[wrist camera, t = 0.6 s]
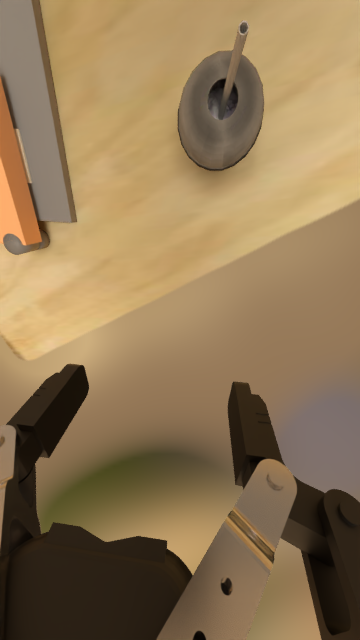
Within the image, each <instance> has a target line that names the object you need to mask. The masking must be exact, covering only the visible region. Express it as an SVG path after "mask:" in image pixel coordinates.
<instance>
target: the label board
mask: <svg viewBox="0 0 360 640" xmlns="http://www.w3.org/2000/svg"><path fill="white" fill-rule="evenodd" d="M0 77H1V81H2V85H3V89H4V93H5V97H6V101H7V105H8V109H9V113H10V116H11V120H12V124H13V128H14V132H15V136H16V140H17V144H18V148H19V152H20V156H21V160H22V164H23V168H24V172H25V176H26V180H27V184H28V187H29V191H30V195H31V199H32V203H33V207H34V211H35V215H36V219H37V220H39V221H54V222H69V223H73V222H77V220H76V214H75V208H74V203H73V197H72V191H71V185H70V179H69V173H68V167H67V161H66V156H65V150H64V144H63V138H62V132H61V126H60V120H59V115H58V109H57V103H56V97H55V91H54V85H53V79H52V74H51V68H50V62H49V56H48V50H47V44H46V38H45V32H44V27H43V21H42V15H41V9H40V3H39V0H0ZM39 231H40V235H41V239H42V242H40V245H39V248H38V249H41V248H45V247H47V246H48V245H49V242H50V241H49V237H48V235H47V234H46V233H45V232H44V231H43V230H41V229H39ZM38 249H37V250H38Z"/></svg>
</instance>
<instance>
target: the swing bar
mask: <svg viewBox="0 0 360 640" xmlns="http://www.w3.org/2000/svg"><path fill="white" fill-rule="evenodd" d="M40 242H42V239H41V235H40V231H39V227H38V223H37V219H36V215H35V211H34V207H33V203H32V199H31V195H30V191H29V187H28V184H27V180H26V176H25V172H24V168H23V164H22V160H21V156H20V152H19V148H18V144H17V140H16V136H15V132H14V128H13V124H12V120H11V116H10V113H9V109H8V105H7V101H6V97H5V93H4V89H3V85H2V81H1V77H0V243H2V244H4V245H5V247H6V249H7V250H8V251H9V252H11V253H12V254H15V255H19V254H23V253H27V252H30V251H34V250H37V249H38V248H39V245H40Z"/></svg>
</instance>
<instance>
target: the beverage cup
mask: <svg viewBox="0 0 360 640" xmlns="http://www.w3.org/2000/svg"><path fill="white" fill-rule="evenodd" d="M248 29H249V25H248V23H247V21H242V22H241V23H240V24H239V28H238V32H237V36H236V41H235V45H234V49H233V51H218V52H216V53H214V54H212V55H211V56H209V57H207V58H205V59H204V60H203V61H202V62H201V63H200V64H199V65H198V66H197V67H196V68H195V69H194V70H193V71H192V73H191V75H190V77H189V79H188V81H187V83H186V85H185V87H184V89H183V93H182V97H181V101H180V105H179V109H178V132H179V136H180V140H181V144H182V146H183V148H184V150H185V152H186V153H187V155H188V157H189V158H190V159H191V160H192V161H193V162H194V163H195V164H197V165H198V166H199V167H202V168H204V169H207V170H209V171H222V170H224V169H227V168H230V167H232V166H234V165H236V164H237V163H238V162H239V161H241V160H242V159H243V158H244V157H245V156H246V155H247V154H248V152H249V151H250V149H251V148H252V147H253V145H254V144H255V141H256V139H257V136H258V134H259V131H260V129H261V125H262V118H263V111H264V96H263V85H262V82H261V80H260V77H259V75H258V72H257V70H256V68H255V67H254V66H253V64H252V63H251V62H250V61H249V60H248V59H247V58H246V57H245V56H243V55H242V51H243V48H244V44H245V41H246V37H247V34H248Z"/></svg>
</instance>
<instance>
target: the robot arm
mask: <svg viewBox="0 0 360 640" xmlns="http://www.w3.org/2000/svg"><path fill="white" fill-rule="evenodd" d="M88 390H89V384H88V380H87V376H86V372H85V368H84V366H83V365H76V364H67V365H66V366H65V367H64V368H63V369H62V371H61V372H60V373H55V374H54V375H52V376H51V377H49V378H48V379H46V380H45V381H44V383H43V384H42V385H41V386H40V387H39V389H37V391H36V392H35V393H34V394H33V396H31V397H30V398H29V399H28V401H27V402H26V403H25V404H24V405H23V406H22V407H21V408H20V410H19V411H18V412H17V413H16V414H15V415H14V416H13V417H12V419H11V420H10V421H9V422H8V423H7V424H6V425H2V426H0V640H246V638H247V635H248V633H249V630H250V627H251V624H252V622H253V619H254V616H255V614H256V611H257V608H258V605H259V603H260V600H261V597H262V594H263V591H264V589H265V586H266V583H267V581H268V578H269V575H270V572H271V569H272V566H273V563H274V554H275V551H276V548H277V545H278V543H279V540H280V538H282V539H283V540H285V541H287V542H289V543H290V544H292V545H294V546H296V547H297V548H299V549H301V553H302V557H303V561H304V565H305V570H306V574H307V578H308V583H309V587H310V591H311V596H312V600H313V604H314V608H315V613H316V617H317V622H318V626H319V630H320V635H321V639H322V640H360V503H359V502H358V501H357V500H356V499H355V498H354V497H352V496H351V495H349V494H348V493H346V492H344V491H341V490H337V489H332V490H329V491H327V492H326V493H324V492H322V491H320V490H317V489H315V488H313V487H311V486H309V485H307V484H305V483H303V482H301V481H300V480H298V479H297V478H296V477H294V476H293V475H292V473H291V472H290V471H289V469H288V468H287V467H286V466H285V464H284V463H283V460H282V458H281V454H280V451H279V448H278V444H277V441H276V437H275V435H274V431H273V428H272V425H271V421H270V417H269V414H268V410H267V407H266V404H265V403H264V401H263V400H262V399H261V397H260V396H259V395H253V394H251V391H250V387H249V384H248V383H242V382H233V383H232V388H231V392H230V396H229V401H228V418H229V428H230V438H231V447H232V456H233V466H234V475H235V485H239V486H243V492H242V494H241V496H240V497H239V499H238V501H237V502H236V504H235V506H234V508H233V509H232V511H231V512H230V513H229V514H228V516H227V518H226V519H225V521H224V523H223V524H222V526H221V528H220V529H219V531H218V533H217V535H216V536H215V538H214V540H213V542H212V543H211V545H210V547H209V549H208V550H207V552H206V554H205V555H204V557H203V559H202V561H201V562H200V564H199V566H198V568H197V570H196V571H195V573H194V575H192V573H191V572H190V570H189V569H188V567H187V566H186V565H185V564H184V562H183V561H182V560H181V559H180V558H179V557H178V556H177V555H176V554H174V553H173V552H171V551H170V550H168V549H167V541H166V540H160V539H153V538H147V537H141V536H136V537H131V538H126V539H121V540H117V541H111V542H104V541H102V540H101V539H99V538H98V537H96V536H94V535H92V534H91V533H90V532H88V531H86V530H85V529H83V528H81V527H78V526H73V525H67V524H60V523H54V522H53V524H52V526H51V528H50V530H49V532H46V533H43V534H41V527H40V522H39V518H38V514H37V505H36V504H37V502H36V465H35V463H36V461H37V460H38V458H39V457H46V458H49V457H50V456H51V454H52V452H53V451H54V449H55V447H56V446H57V444H58V442H59V441H60V439H61V437H62V436H63V434H64V432H65V431H66V429H67V428H68V426H69V424H70V423H71V421H72V419H73V418H74V416H75V414H76V413H77V411H78V409H79V408H80V406H81V405H82V403H83V401H84V400H85V398H86V396H87V394H88Z"/></svg>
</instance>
